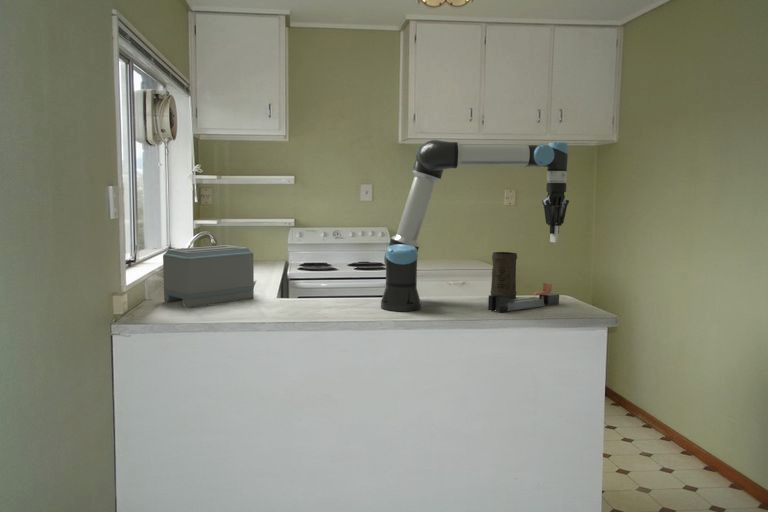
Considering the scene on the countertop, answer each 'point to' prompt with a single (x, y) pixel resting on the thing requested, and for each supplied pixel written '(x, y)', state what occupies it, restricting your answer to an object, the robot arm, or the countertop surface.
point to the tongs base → (548, 299)
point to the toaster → (208, 275)
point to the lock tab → (544, 289)
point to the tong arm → (517, 304)
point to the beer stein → (504, 274)
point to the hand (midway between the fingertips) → (553, 242)
